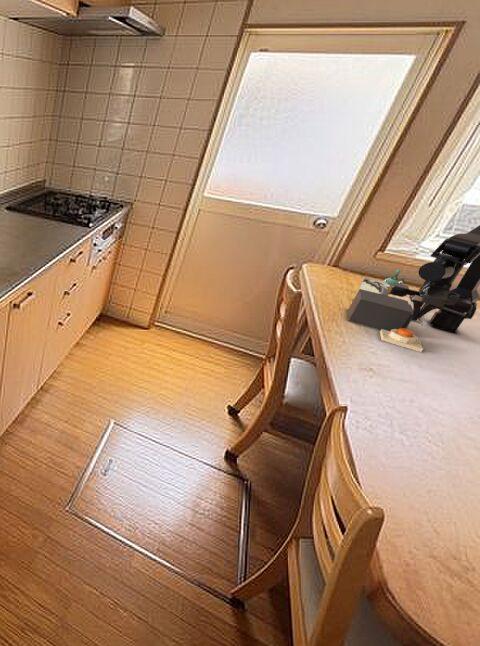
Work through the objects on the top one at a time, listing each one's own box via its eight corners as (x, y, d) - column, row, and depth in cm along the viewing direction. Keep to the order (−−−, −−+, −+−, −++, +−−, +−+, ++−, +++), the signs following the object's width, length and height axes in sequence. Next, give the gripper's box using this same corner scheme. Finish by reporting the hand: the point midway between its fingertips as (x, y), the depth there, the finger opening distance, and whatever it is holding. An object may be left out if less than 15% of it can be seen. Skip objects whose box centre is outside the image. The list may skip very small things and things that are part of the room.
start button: (410, 335, 141) (413, 330, 140) (411, 339, 139) (414, 334, 138) (396, 331, 143) (399, 326, 142) (397, 335, 141) (400, 330, 140)
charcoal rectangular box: (394, 322, 155) (407, 300, 151) (397, 335, 146) (411, 312, 142) (347, 309, 162) (359, 288, 158) (348, 321, 153) (360, 299, 149)
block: (418, 342, 142) (423, 335, 141) (421, 352, 136) (426, 344, 135) (379, 331, 148) (384, 324, 146) (381, 340, 142) (386, 332, 140)
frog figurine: (390, 296, 178) (411, 265, 170) (397, 315, 165) (420, 283, 157) (362, 289, 182) (381, 259, 174) (366, 308, 170) (387, 276, 162)
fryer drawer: (415, 326, 151) (426, 308, 148) (419, 338, 143) (431, 319, 140) (356, 310, 160) (366, 293, 157) (357, 320, 152) (367, 302, 149)
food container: (388, 315, 160) (402, 291, 156) (370, 312, 161) (384, 289, 157) (367, 301, 171) (380, 279, 167) (351, 299, 172) (363, 276, 168)
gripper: (404, 274, 130) (378, 318, 137) (491, 294, 120) (458, 340, 127) (401, 265, 138) (376, 307, 145) (481, 283, 128) (451, 327, 135)
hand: (413, 320), depth 138 cm, fingers closed
